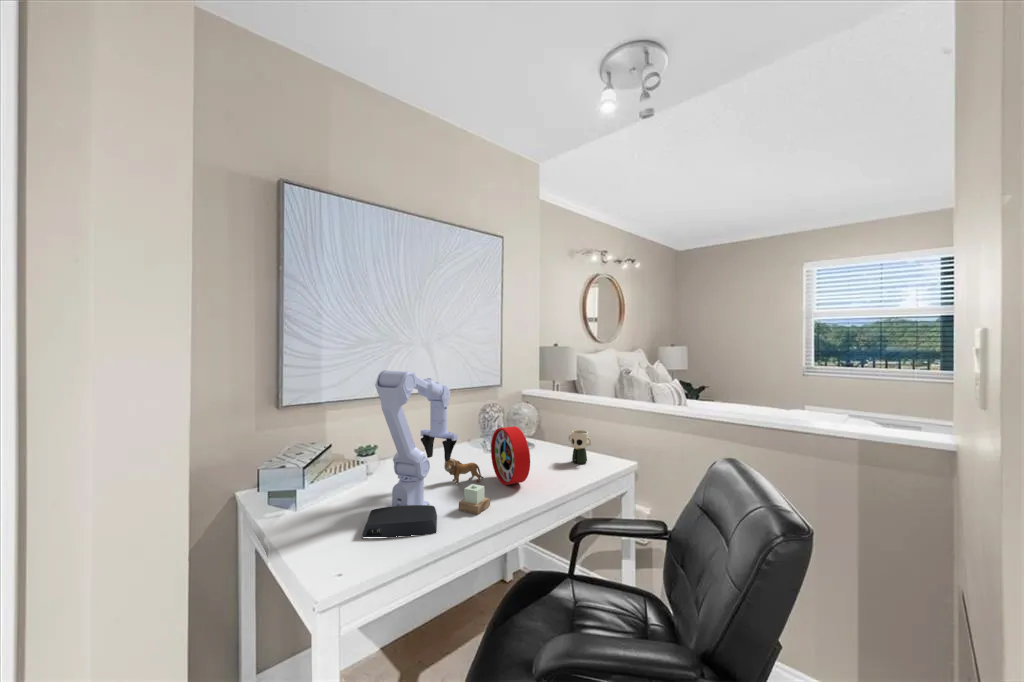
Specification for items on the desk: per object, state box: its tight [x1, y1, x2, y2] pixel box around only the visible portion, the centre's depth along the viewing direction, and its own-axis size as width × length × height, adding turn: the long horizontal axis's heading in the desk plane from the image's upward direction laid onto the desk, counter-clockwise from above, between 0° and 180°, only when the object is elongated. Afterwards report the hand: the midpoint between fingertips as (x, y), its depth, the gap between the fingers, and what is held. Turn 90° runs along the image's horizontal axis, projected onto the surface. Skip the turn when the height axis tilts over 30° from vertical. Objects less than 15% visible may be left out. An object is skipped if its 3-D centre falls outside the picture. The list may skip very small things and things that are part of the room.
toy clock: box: [490, 425, 531, 486], centre depth 150 cm, size 20×6×20 cm, turn 27°
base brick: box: [458, 496, 491, 516], centre depth 127 cm, size 7×7×2 cm
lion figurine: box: [443, 457, 485, 484], centre depth 151 cm, size 15×5×9 cm, turn 110°
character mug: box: [568, 429, 592, 464], centre depth 174 cm, size 11×7×13 cm, turn 49°
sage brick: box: [463, 483, 485, 504], centre depth 127 cm, size 4×4×4 cm
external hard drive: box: [361, 504, 438, 537], centre depth 115 cm, size 13×19×4 cm
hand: (438, 458), depth 144 cm, fingers open, 7 cm apart
